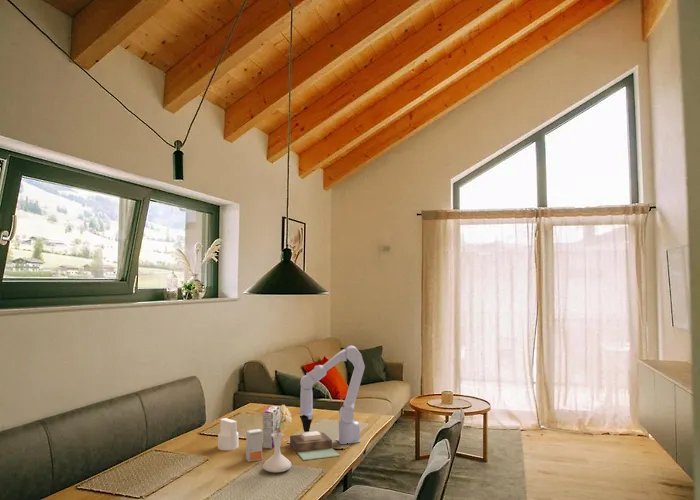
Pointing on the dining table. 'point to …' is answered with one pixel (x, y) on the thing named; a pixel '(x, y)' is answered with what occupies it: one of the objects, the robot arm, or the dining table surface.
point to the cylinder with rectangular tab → (228, 435)
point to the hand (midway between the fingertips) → (306, 431)
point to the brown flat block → (310, 443)
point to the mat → (318, 454)
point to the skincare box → (254, 444)
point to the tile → (310, 435)
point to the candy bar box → (270, 425)
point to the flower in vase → (277, 459)
